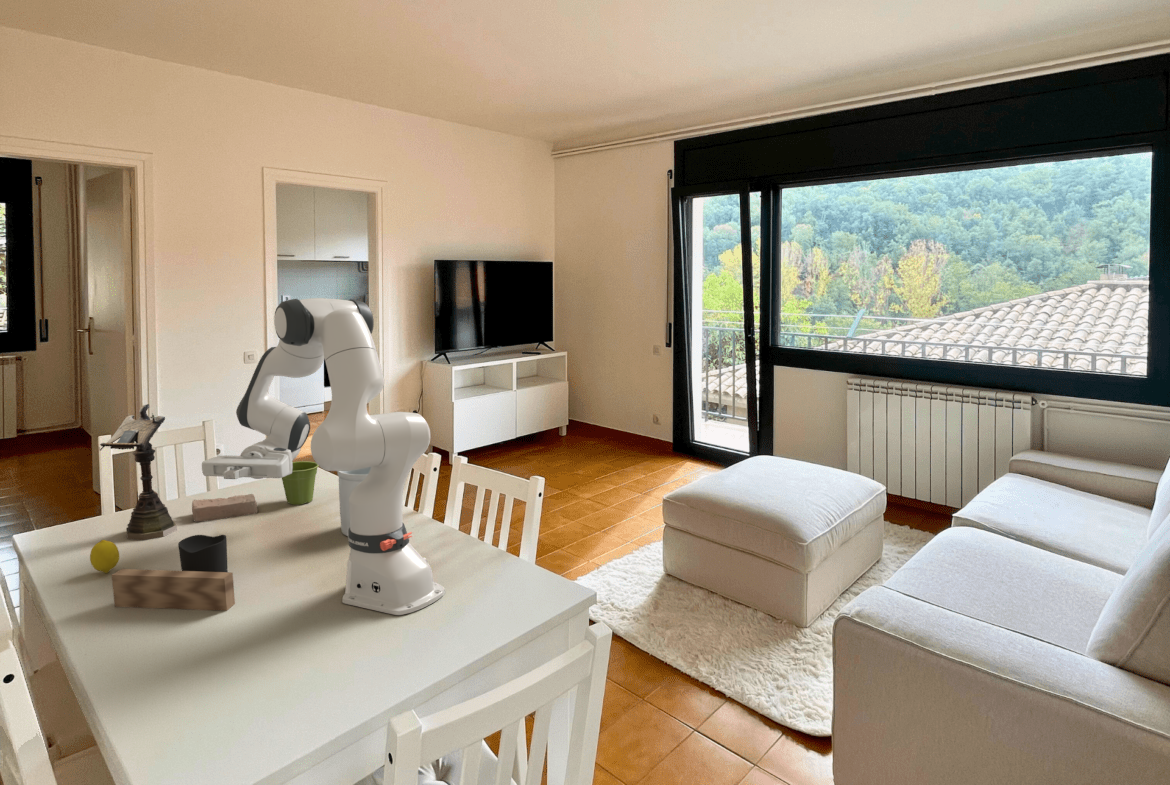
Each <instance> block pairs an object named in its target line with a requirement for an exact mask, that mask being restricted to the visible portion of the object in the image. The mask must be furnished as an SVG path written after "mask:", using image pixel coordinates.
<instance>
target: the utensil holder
mask: <svg viewBox="0 0 1170 785" xmlns="http://www.w3.org/2000/svg"><path fill="white" fill-rule="evenodd" d="M370 470H371V467H367V468H362V469H356V470H351V471H336V473H337V476H338V496H339V497H338V498H339V499H338V500H339V516H340V528H341V533H342V534H343V535H344V536H347V537H348V530H349V528H350V514H349V497H350V494H351V492H352V490H353V489H354V488H355V487H356V486H357V485H358V484H359V483H361V482H362V481H363V480H364V479H365V478H366V477H367V475H368V474H369V472H370Z"/></svg>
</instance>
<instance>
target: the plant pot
mask: <svg viewBox="0 0 1170 785" xmlns="http://www.w3.org/2000/svg"><path fill="white" fill-rule="evenodd" d="M292 464H293V468H292V474H290V475H287V476H285V477H283V478H281V481H282V485H283V489H284V493H285V498H286V503H288V504H290V505H294V506H295V505H296V506H297V505H299V506H300V505H301V506H302V505H303V504H306V503H312V501H313V499H314V493H315V492H314V491H315V485H316V484H315V483H316V475H317V472H318V468H320V466H319V465H318V464H317V463H316V462H314V461H306V460H305V461H300V460H299V461H292Z"/></svg>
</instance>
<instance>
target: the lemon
mask: <svg viewBox="0 0 1170 785" xmlns="http://www.w3.org/2000/svg"><path fill="white" fill-rule="evenodd" d="M89 554H90V555H89V561H90V564H91V566H92V568H94V570H97V571H98V572H103V573H104V574H108V573H109V572H110V571H111V570H112V569H114V568H115V567H116V566H117V565H118V563H119V561H120V551H119V548H118V546H117V545H116V543H114V542H113V541H109V540H105V539H101V540H100V541H99V542H97V543H95V545H93V546H92V548H91V550H90V553H89Z"/></svg>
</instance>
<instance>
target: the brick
mask: <svg viewBox="0 0 1170 785" xmlns="http://www.w3.org/2000/svg"><path fill="white" fill-rule="evenodd" d="M191 513H192V518H193V520H194V522H208V521H214V520H215V521H217V520H221V519H222V520H223V519H227V518H228V519H229V518H235V517H240V516H247V515H253V514H257V513H258V504H257V500H256V497H255V495H254V494H253V493H249V494H240V495H235V496H229V497H227V498H225V497H223V498H222V497H217V498H214V499H213V498H212V499H211V498H206V499H196V500H195V499H194V500H192V502H191Z"/></svg>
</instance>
